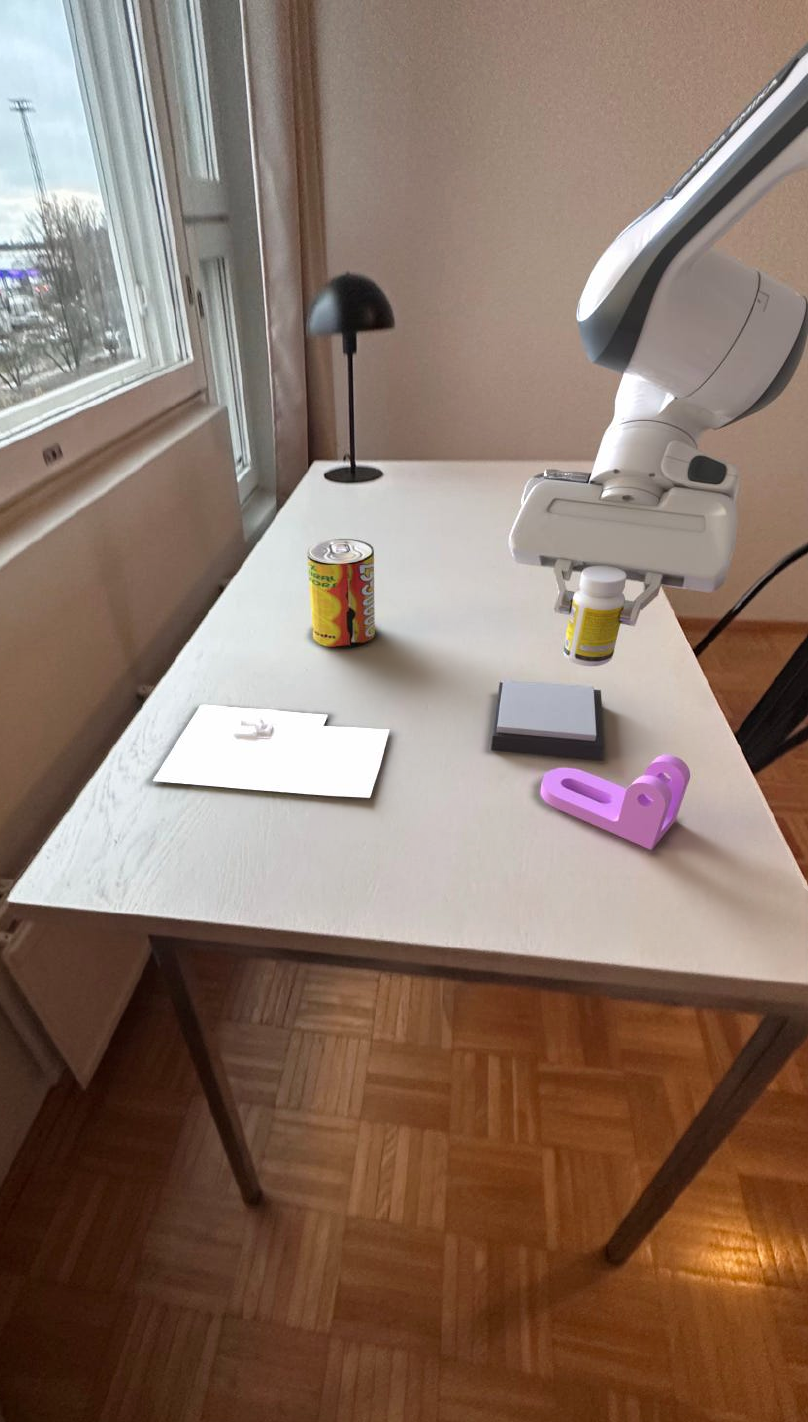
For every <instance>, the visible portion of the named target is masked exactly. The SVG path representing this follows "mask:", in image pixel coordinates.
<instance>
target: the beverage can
mask: <svg viewBox="0 0 808 1422" xmlns="http://www.w3.org/2000/svg"><path fill="white" fill-rule="evenodd" d="M306 553H307V568H308V569H307V570H308V584H309V597H310V610H311V611H310V612H311V625H312V627H311V628H312V639H314V641H315V642H316V643H317V644H319V645H321V646H324V647H327V648H332V649H351V648H356V647H359V646H362V645H365V644H367V643H369V642H370V641H371V640H372V639H373V638H374V637H375V634H376V631H375V630H376V629H375V627H376V624H375V623H376V622H375V620H376V619H375V617H376V616H375V614H376V613H375V549H374V547H373V546H372V545H371V544H370V543H369V542H366V541H363V540H359V539H354V538H353V539H352V538H335V539H327V540H323V541H320V542H317V543H315V544H313V545H311V546H310V547H309V548H308V549H307V550H306Z"/></svg>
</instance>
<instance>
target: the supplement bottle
mask: <svg viewBox="0 0 808 1422" xmlns="http://www.w3.org/2000/svg"><path fill="white" fill-rule="evenodd" d="M578 582H579V583H578V584H579V585H578V587H579V588H578V589H577V590H575V591H574V592H575V593H574V596H573V600H572V606H571V611H570V615H569V618H568V623H567V627H566V634H565V640H564V645H563V656H564V657H565V659H566V660H568V661H569V662H572V663H573V664H576V665H578V666H579V665H580V666H582V667H583V666H584V667H600V666H603V665H606V664H608V663H609V662H610V661H611V660H612V659H613V656H614V653H615V648H616V643H617V639H618V633H619V630H620V626H621V624H620V623H619V622H620V621H619V618H620V614H621V611H622V610H623V605H624V601H625V600H626V596H625V594H624V593H623V592H624V590H625V587H626V582H627V580H626V573H625V572H624V571H622V570H621V569H618V568H615V567H611V566H591V567H588V568H586V569H584V570H583V571H582V573H580V579H579V581H578Z"/></svg>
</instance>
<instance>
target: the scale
mask: <svg viewBox="0 0 808 1422" xmlns="http://www.w3.org/2000/svg"><path fill="white" fill-rule="evenodd" d="M603 714H604V713H603V700H602V690H601V689H595V687H594V685H593V686H592V685H579V684H567V683H566V684H565V683H555V682H554V683H553V682H541V681H540V682H539V681H527V680H514V679H502V682H499V684H498V692H497V698H496V707H495V715H494V722H493V730H492V736H491V746H490V751H494V752H504V753H505V752H506V753H515V754H526V755H538V756H548V757H558V758H568V759H569V758H570V759H577V760H579V759H580V760H589V761H602V760H603V756H604V752H605V747H606V745H605V728H604V716H603Z"/></svg>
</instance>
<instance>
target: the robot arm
mask: <svg viewBox="0 0 808 1422" xmlns="http://www.w3.org/2000/svg"><path fill="white" fill-rule="evenodd" d="M806 169H808V41H807V42H806V43H805V44H804V45H803V46H802V47H801V48H800V49H799V50H798V51H797V52H796V53H795V54H794V55H793V56H792V57H791V58H789V60H788V61H787V63H786V64H785V65H784V66H783V67H782V68H781V69H780V70H779V71H778V72H777V73H776V74H775V75H774V76H773V77H772V78H771V80H769V81H768V83H766V85H765V86H764V87H763V88H762V89H761V90H760V91H759V92H758V93H757V94H756V95H755V96H754V97H753V98H752V100H751V101H750V102H748V104H747V105H746V106H745V107H744V108H743V109H742V110H741V112H740V113H739V114H738V115H737V116H736V117H735V118H734V119H733V120H732V121H731V122H730V123H729V125H728V126H727V127H726V128H724V130H723V131H722V132H720V134H719V136H718V137H716V138H715V140H714V141H712V143H711V144H710V145H709V146H708V147H707V148H706V149H705V150H704V151H703V153H701V155H700V156H698V158H697V159H696V160H695V161H694V162H693V163H692V165H690V167H688V169H686V171H685V172H684V173H683V174H682V175H681V176H680V177H679V179H677V181H676V182H674V184H673V185H672V186H671V187H670V188H668V190H667V191H666V192H665V193H664V194H663V195H662V196H661V197H660V198H659V199H658V200H657V201H656V202H654V204H653V205H651V206H650V208H648V209H647V210H646V211H645V212H644V213H642V214H641V215H640V216H638V217H637V218H636V219H635V220H633V221H632V222H631V223H630V224H629V225H628V226H626V227H625V228H624V230H622V231H621V232H620V233H619V234H618V235H617V237H615V239H614V240H613V241H612V242H611V244H609V246H608V247H607V249H606V250H605V251H604V253H602V255H601V257H600V258H599V260H598V261H597V262H596V264H595V265H594V267H593V269H592V271H591V273H590V275H589V277H588V279H587V282H586V284H585V286H584V289H583V291H582V293H581V296H580V298H579V301H578V304H577V309H576V322H577V328H578V332H579V336H580V337H579V338H580V340H581V343H582V346H583V349H584V352H585V354H586V356H587V358H588V360H589V363H591V364H593V365H596V366H599V367H602V368H605V369H607V370H611V371H614V372H616V373H618V374H622V378H621V379H620V380H621V381H620V383H619V385H618V389H617V392H616V396H615V400H614V414H613V419H612V421H611V422H610V424H609V426H608V427H607V428H606V430H605V432H604V434H603V436H602V439H601V442H600V446H599V448H598V452H597V454H596V458H595V461H594V464H593V466H592V471H591V472H582V471H563V470H559V469H554V468H553V469H551V468H550V469H545V471H544V472H540V473H538V474H535V475H533V476H532V477H531V478H529V480H527V483H526V485H525V487H524V491H523V494H522V497H521V507H520V509H519V512H518V514H517V517H516V518H515V521H514V523H513V526H512V528H511V531H510V534H509V537H508V546H509V550H510V552H511V556H512V557H513V559H514V561H515V562H516V563H518V564H521V565H528V566H535V567H541V568H547V569H553V573H554V579H555V583H556V587H557V591H558V593H557V597H556V599H555V602H554V613H557V614H560V615H561V614H562V615H568V616H570V611H571V606H572V600H573V596H574V593H575V592H576V591H573V590H568V589H567V587H566V582H565V581H567V582H568V581H570V580H571V578H572V574H573V573H580V574H582V571H583V570H584V569H586V568H588V567H591V566H611V567H615V568H618V569H621V570H622V571H624V572H625V573H626V581H631V582H637V583H643V590H642V592H641V593H640V594H639V595H638V596H637V597H636V598H635V599H634V600H633V601H632V600H627V599H625V601H624V605H623V610H622V611H621V614H620V618H619V621H620V622H619V623H620V625H625V626H629V627H636V625H637V622H638V619H639V616H640V612H641V611H642V610H644V609H645V608H646V607H647V606H648V605H649V604H650V603H651V602H652V601H654V599H655V598H657V597H658V596H659V593H660V590H661V587H662V586H663V587H668V588H669V587H670V588H677V589H682V590H689V591H695V592H702V593H714V592H716V591H717V590H718V589H720V588H721V587H722V586H724V585H725V582H726V580H727V577H728V573H729V569H730V566H731V563H732V560H733V555H734V550H735V545H736V540H737V533H738V527H739V526H738V525H739V509H738V505H737V504H736V500H737V497H738V494H739V489H740V482H741V481H740V480H741V471H740V469H739V468H738V467H737V466H736V465H734V464H731V463H729V462H727V461H724V460H723V459H719V458H717V457H715V456H712V455H711V454H708V453H706V452H703V451H701V450H700V449H699V444H700V440H701V438H702V436H703V435H704V434H705V433H707V432H708V431H709V430H711V429H712V430H714V431H716V430H719V429H722V428H725V427H727V426H729V425H732V424H734V423H737V422H739V421H740V420H742V419H744V418H747V417H749V416H752V415H753V414H756V413H758V412H759V411H762V410H763V409H765V408H766V407H767V406H769V405H770V404H772V403H773V402H774V401H775V400H777V399H778V397H780V395H781V394H782V393H783V392H784V391H785V389H786V388H787V386H788V385H789V383H790V382H791V380H792V378H793V377H794V375H795V373H796V371H797V369H798V367H799V365H800V363H801V360H802V358H803V355H804V352H805V348H806V345H807V340H808V299H807V297H806V296H805V295H803V294H801V293H800V292H799V291H797V290H796V289H794V288H793V287H791V286H790V285H788V284H786V283H784V282H782V281H780V280H779V279H777V278H775V277H773V276H772V275H770V274H768V273H766V272H764V271H763V270H760V269H759V268H755V267H752V266H751V265H749V264H747V263H744V262H742V261H741V260H739V259H737V258H735V257H733V256H732V255H729V254H728V253H726V252H724V251H722V250H720V249H718V248H716V247H714V245H715V244H716V243H718V241H719V240H721V238H723V236H725V235H726V234H727V233H728V232H729V231H730V230H731V229H733V228H734V226H736V225H737V224H738V223H739V222H740V221H741V220H742V219H744V217H745V216H746V215H748V214H749V212H750V211H752V210H753V209H754V208H755V207H756V206H757V205H759V203H760V202H761V201H762V200H764V198H766V197H767V196H768V195H769V194H770V193H771V192H772V191H773V190H775V188H777V187H778V186H779V185H780V184H781V183H783V182H785V180H787V179H789V178H790V177H792V176H793V175H795V174H798V173H799V172H802V171H804V170H806Z"/></svg>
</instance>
